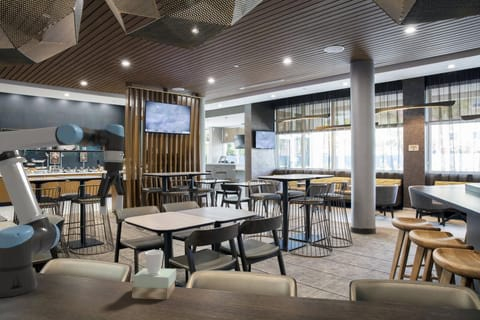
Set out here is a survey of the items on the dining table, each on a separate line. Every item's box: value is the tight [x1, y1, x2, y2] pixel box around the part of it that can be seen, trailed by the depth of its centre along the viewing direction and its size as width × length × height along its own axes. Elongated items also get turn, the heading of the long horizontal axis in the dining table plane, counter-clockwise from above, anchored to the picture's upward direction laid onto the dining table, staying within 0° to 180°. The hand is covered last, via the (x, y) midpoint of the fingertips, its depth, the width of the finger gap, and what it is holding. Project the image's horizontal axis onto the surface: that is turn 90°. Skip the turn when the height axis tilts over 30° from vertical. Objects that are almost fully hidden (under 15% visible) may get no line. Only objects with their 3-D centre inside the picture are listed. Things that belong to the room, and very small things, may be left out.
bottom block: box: [131, 280, 176, 300], centre depth 122 cm, size 13×10×4 cm
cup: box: [144, 249, 164, 276], centre depth 123 cm, size 7×10×8 cm
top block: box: [133, 267, 177, 289], centre depth 123 cm, size 13×10×4 cm
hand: (111, 212), depth 136 cm, fingers open, 13 cm apart
